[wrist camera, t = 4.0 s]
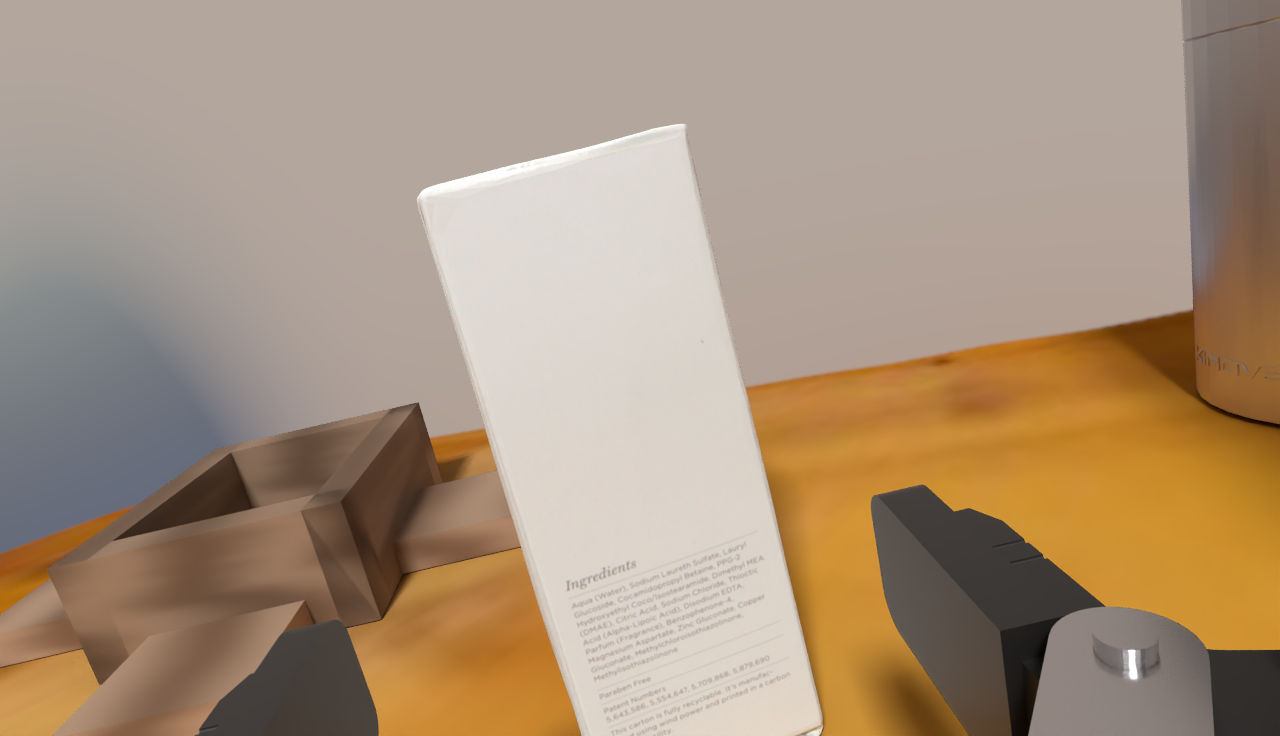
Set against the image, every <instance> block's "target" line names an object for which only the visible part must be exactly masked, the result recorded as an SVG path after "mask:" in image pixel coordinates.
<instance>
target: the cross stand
mask: <svg viewBox="0 0 1280 736" xmlns="http://www.w3.org/2000/svg"><path fill="white" fill-rule="evenodd" d="M517 547H521V546H520V542H519V539H518V536H517V532H516V529H515V526H514V523H513V519H512V516H511V513H510V510H509V506H508V503H507V500H506V497H505V493H504V490H503V487H502V483H501V480H500V477H499V473H498V470H497V471H493V472H489V473H484V474H480V475H476V476H471V477H467V478H463V479H458V480H454V481H450V482H445V483H443V481H442V477H441V474H440V471H439V468H438V464H437V461H436V458H435V455H434V451H433V448H432V445H431V442H430V438H429V435H428V432H427V428H426V425H425V422H424V419H423V415H422V412H421V409H420V406H419V403H414V404H410V405H406V406H401V407H397V408H392V409H388V410H383V411H379V412H375V413H371V414H366V415H362V416H357V417H353V418H349V419H344V420H340V421H336V422H331V423H327V424H323V425H319V426H314V427H310V428H305V429H301V430H296V431H292V432H288V433H283V434H279V435H275V436H270V437H266V438H262V439H258V440H253V441H249V442H244V443H240V444H236V445H231V446H227V447H222V448H218V449H215V450H214V451H213V452H211V453H210V454H208V455H207V456H205V457H204V458H203V459H201V460H200V461H199V462H197V463H196V464H194V465H193V466H191V467H190V468H189V469H188V470H186V471H184V472H183V473H182V474H180V475H179V476H177V477H176V478H174V479H173V480H172V481H170V482H169V483H167V484H166V485H165V486H163V487H162V488H160V489H159V490H158V491H156V492H155V493H153V494H152V495H151V496H149V497H148V498H147V499H145V500H143V501H142V502H141V503H139V504H138V505H136V506H135V507H134V508H132V509H131V510H129V511H128V512H127V513H125V514H124V515H122V516H121V517H120V518H118V519H117V520H115V521H114V522H112V523H111V524H110V525H108V526H107V527H105V528H104V529H103V530H101V531H100V532H98V533H97V534H96V535H94V536H93V537H91V538H90V539H89V540H87V541H86V542H84V543H83V544H81V545H80V546H79V547H77V548H76V549H74V550H73V551H72V552H70V553H69V554H67V555H66V556H65V557H63V558H62V559H60V560H59V561H58V562H56V563H55V564H53V565H52V566H50V567H49V568H48V569H47V572H48V574H49V576H50V579H49V580H47V581H46V582H44V583H43V584H42V585H40V586H39V587H38V588H36V589H35V590H34V591H32V592H31V593H29V594H28V595H27V596H25V597H24V598H23V599H21V600H20V601H18V602H17V603H16V604H14V605H13V606H12V607H10V608H9V609H8V610H6V611H5V612H3V613H2V614H1V615H0V667H4V666H8V665H12V664H17V663H21V662H25V661H29V660H34V659H38V658H42V657H47V656H51V655H55V654H60V653H64V652H68V651H73V650H77V649H81V648H83V650H84V652H85V654H86V656H87V659H88V661H89V663H90V665H91V667H92V669H93V672H94V674H95V676H96V678H97V680H98V683H99V685H101V684H102V685H101V686H100V687H99V688H98V689H97V690H96V691H95V692H94V693H93V694H92V695H91V696H90V697H89V698H88V699H87V700H86V701H85V702H84V703H83V705H82V706H81V707H80V708H79V709H78V710H77V711H76V712H75V713H74V714H73V715H72V716H71V717H70V718H69V719H68V720H67V721H66V722H65V723H64V724H63V725H62V726H61V727H60V728H59V729H58V730H57V731H56V732H55V733H54V734H53V735H52V736H194V735H197V734H199V728H200V727H201V726H202V724H203V723H204V721H205V720H206V719H207V717H208V716H209V714H210V713H211V712H212V710H213V709H214V707H215V706H216V705H217V703H218V702H219V701H220V700H221V699H222V698H223V697H224V696H225V695H227V694H228V693H229V692H230V691H231V690H232V689H234V688H235V687H236V686H237V685H238V684H239V683H240V682H242V681H243V680H244V679H245V678H246V677H247V676H248V675H250V674H252V673H254V672H255V671H256V669H257V668H258V666H259V665H260V664H261V662H262V661H263V659H264V658H265V656H266V655H267V653H268V652H269V650H270V649H271V647H272V646H273V645H274V643H275V642H276V640H277V639H278V637H279V636H280V635H281V634H282V633H283V632H284V631H287V630H292V629H296V628H300V627H305V626H309V625H313V624H317V623H322V622H326V621H330V620H339V621H340V622H341V623H343V625H344V626H345V628H347V627H351V626H355V625H360V624H364V623H368V622H372V621H377V620H381V619H382V617H383V615H384V613H385V611H386V609H387V607H388V605H389V603H390V600H391V598H392V596H393V594H394V592H395V590H396V588H397V586H398V584H399V582H400V580H401V578H402V575H403V574H405V573H409V572H414V571H418V570H422V569H427V568H431V567H435V566H440V565H444V564H448V563H453V562H457V561H461V560H465V559H470V558H474V557H478V556H483V555H487V554H491V553H496V552H500V551H504V550H509V549H513V548H517Z"/></svg>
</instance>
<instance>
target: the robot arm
mask: <svg viewBox="0 0 1280 736" xmlns="http://www.w3.org/2000/svg"><path fill="white" fill-rule="evenodd" d="M1181 4H1182V5H1181V6H1182V28H1183V29H1182V30H1183V40H1184V41H1185V42H1184V43H1183V47H1184V48H1183V49H1184V75H1185V100H1186V126H1187V150H1188V151H1187V152H1188V178H1189V203H1190V230H1191V253H1192V254H1191V255H1192V281H1193V311H1194V336H1195V362H1196V387H1197V390H1198V392H1199V394H1200V396H1201V397H1202V398H1203V399H1205V400H1206V401H1207V402H1209V403H1210V404H1212V405H1214V406H1216V407H1218V408H1221V409H1223V410H1225V411H1227V412H1230V413H1234V414H1237V415H1241V416H1244V417H1247V418H1251V419H1256V420H1261V421H1266V422H1271V423H1276V424H1280V0H1181ZM871 512H872V519H873V525H874V532H875V538H876V545H877V551H878V557H879V564H880V570H881V576H882V583H883V589H884V594H885V598H886V602H887V605H888V608H889V611H890V614H891V617H892V619H893V621H894V624H895V626H896V628H897V630H898V631H899V633H900V635H901V636H902V638H903V639H904V640H905V642H906V643H907V645H908V646H909V648H910V649H911V651H912V652H913V654H914V655H915V657H916V658H917V660H918V661H919V663H920V664H921V665H922V667H923V668H924V670H925V671H926V673H927V674H928V676H929V677H930V679H931V680H932V682H933V683H934V685H935V686H936V687H937V689H938V690H939V692H940V693H941V695H942V696H943V698H944V699H945V701H946V702H947V704H948V705H949V707H950V708H951V710H952V711H953V712H954V714H955V715H956V717H957V718H958V720H959V721H960V723H961V724H962V726H963V727H964V729H965V730H966V732H967V733H968V734H969V736H1280V650H1210V649H1206V647H1205V646H1204V644H1203V643H1202V642H1201V640H1200V639H1199V638H1198V637H1197V636H1196V635H1195V634H1193V633H1192V632H1191V631H1190V630H1188V629H1187V628H1185V627H1184V626H1182V625H1180V624H1179V623H1177V622H1174V621H1172V620H1170V619H1168V618H1166V617H1163V616H1160V615H1157V614H1154V613H1150V612H1147V611H1143V610H1137V609H1132V608H1123V607H1106V606H1104V605H1103V604H1102V603H1101V602H1100V601H1098V600H1097V599H1096V598H1095V597H1094V596H1092V595H1091V594H1090V593H1089V592H1088V591H1086V590H1085V589H1084V588H1083V587H1081V586H1080V585H1079V584H1078V583H1077V582H1075V581H1074V580H1073V579H1072V578H1071V577H1069V576H1068V575H1067V574H1066V573H1065V572H1063V571H1062V570H1061V569H1060V568H1059V567H1057V566H1056V565H1055V564H1054V563H1053V562H1051V561H1050V560H1049V559H1048V558H1047V559H1044V557H1043V554H1042V553H1040V552H1039V551H1038V550H1037V549H1036V548H1034V547H1033V546H1032V545H1031V544H1030V543H1025V541H1024V538H1022V537H1021V536H1020V535H1019V534H1018V533H1016V532H1015V531H1014V530H1013V529H1011V528H1010V527H1009V526H1008V525H1007V524H1005V523H1004V522H1003V521H1002V520H999V519H996V518H994V517H991V516H988V515H986V514H983V513H980V512H978V511H975V510H972V509H970V508H968V509H964V510H959V511H955V512H954V511H953V510H952V509H951V508H949V507H948V506H947V505H946V504H945V503H944V502H943V501H942V500H941V499H940V498H938V497H937V496H936V495H935V494H934V493H933V492H932V491H931V490H930V489H929V488H928V487H926V486H925V485H918V486H913V487H909V488H905V489H900V490H896V491H892V492H887V493H883V494H879V495H874V496H873V497H872V500H871ZM378 734H379V732H378V719H377V713H376V709H375V706H374V703H373V700H372V697H371V694H370V691H369V689H368V686H367V683H366V680H365V678H364V675H363V672H362V669H361V667H360V664H359V661H358V658H357V655H356V653H355V650H354V647H353V644H352V642H351V639H350V636H349V634H348V631H347V629H346V628H345V626H344V625H343V623H341V622H340V621H339V620H330V621H326V622H322V623H317V624H313V625H309V626H305V627H300V628H296V629H292V630H287V631H284V632H283V633H282V634H281V635H280V636H279V637H278V639H277V640H276V642H275V643H274V645H273V646H272V647H271V649H270V650H269V652H268V653H267V655H266V656H265V658H264V659H263V661H262V662H261V664H260V665H259V666H258V668H257V669H256V671H255V672H254V673H252V674H250V675H248V676H247V677H246V678H245V679H244V680H243V681H242V682H240V683H239V684H238V685H237V686H236V687H235V688H234V689H232V690H231V691H230V692H229V693H228V694H227V695H225V696H224V697H223V698H222V699H221V700H220V701H219V702H218V703H217V705H216V706H215V707H214V709H213V710H212V712H211V713H210V714H209V716H208V717H207V719H206V720H205V721H204V723H203V724H202V726H201V727H200V728H199V734H197V735H194V736H378Z"/></svg>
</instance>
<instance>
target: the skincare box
mask: <svg viewBox="0 0 1280 736" xmlns="http://www.w3.org/2000/svg"><path fill="white" fill-rule="evenodd" d="M417 205H418V209H419V213H420V216H421V219H422V222H423V226H424V229H425V232H426V235H427V238H428V242H429V245H430V248H431V251H432V255H433V258H434V261H435V264H436V267H437V271H438V274H439V277H440V281H441V284H442V287H443V290H444V294H445V297H446V300H447V304H448V307H449V310H450V313H451V316H452V320H453V323H454V326H455V329H456V333H457V336H458V339H459V342H460V346H461V349H462V352H463V356H464V359H465V362H466V365H467V369H468V372H469V375H470V378H471V382H472V385H473V389H474V393H475V396H476V400H477V403H478V406H479V410H480V413H481V416H482V419H483V423H484V427H485V430H486V433H487V437H488V440H489V443H490V447H491V450H492V453H493V457H494V460H495V463H496V467H497V470H498V473H499V477H500V480H501V483H502V487H503V490H504V493H505V497H506V500H507V503H508V506H509V510H510V513H511V516H512V519H513V523H514V526H515V529H516V532H517V536H518V539H519V542H520V546H521V549H522V552H523V555H524V559H525V562H526V565H527V569H528V572H529V575H530V579H531V582H532V585H533V588H534V592H535V595H536V598H537V602H538V605H539V608H540V612H541V615H542V618H543V621H544V624H545V627H546V630H547V633H548V636H549V639H550V642H551V645H552V648H553V651H554V654H555V657H556V660H557V663H558V666H559V669H560V671H561V674H562V677H563V680H564V683H565V686H566V689H567V692H568V694H569V697H570V700H571V703H572V706H573V709H574V712H575V715H576V718H577V722H578V725H579V728H580V732H581V735H582V736H819V735H820V734H821V732H822V729H823V715H822V711H821V707H820V703H819V699H818V695H817V691H816V686H815V682H814V678H813V674H812V670H811V665H810V661H809V657H808V652H807V648H806V644H805V640H804V636H803V632H802V628H801V624H800V619H799V615H798V610H797V606H796V602H795V598H794V594H793V590H792V585H791V580H790V576H789V572H788V568H787V565H786V560H785V556H784V551H783V546H782V541H781V537H780V532H779V528H778V524H777V519H776V515H775V510H774V506H773V501H772V497H771V492H770V488H769V484H768V480H767V475H766V471H765V467H764V463H763V459H762V455H761V451H760V446H759V442H758V438H757V434H756V430H755V425H754V421H753V417H752V413H751V408H750V404H749V400H748V396H747V392H746V387H745V383H744V379H743V375H742V371H741V366H740V362H739V358H738V353H737V349H736V345H735V341H734V337H733V333H732V329H731V324H730V320H729V316H728V312H727V307H726V303H725V298H724V294H723V290H722V285H721V281H720V277H719V273H718V268H717V264H716V259H715V255H714V251H713V247H712V242H711V238H710V233H709V230H708V225H707V221H706V216H705V212H704V207H703V203H702V199H701V194H700V189H699V185H698V180H697V175H696V171H695V166H694V163H693V159H692V155H691V151H690V145H689V140H688V129H687V126H686V125H685V124H676V125H671V126H666V127H660V128H655V129H651V130H648V131H644V132H640V133H637V134H634V135H630V136H627V137H623V138H620V139H616V140H613V141H609V142H606V143H602V144H598V145H595V146H591V147H587V148H583V149H579V150H575V151H571V152H567V153H562V154H558V155H554V156H550V157H545V158H541V159H537V160H532V161H528V162H524V163H520V164H516V165H511V166H508V167H504V168H500V169H496V170H492V171H488V172H485V173H481V174H477V175H473V176H469V177H465V178H461V179H458V180H453V181H449V182H446V183H442V184H438V185H434V186H431V187H429V188H426V189H424V190H423V191H422V192H421V193H420V195H419V196H418V198H417Z"/></svg>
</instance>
